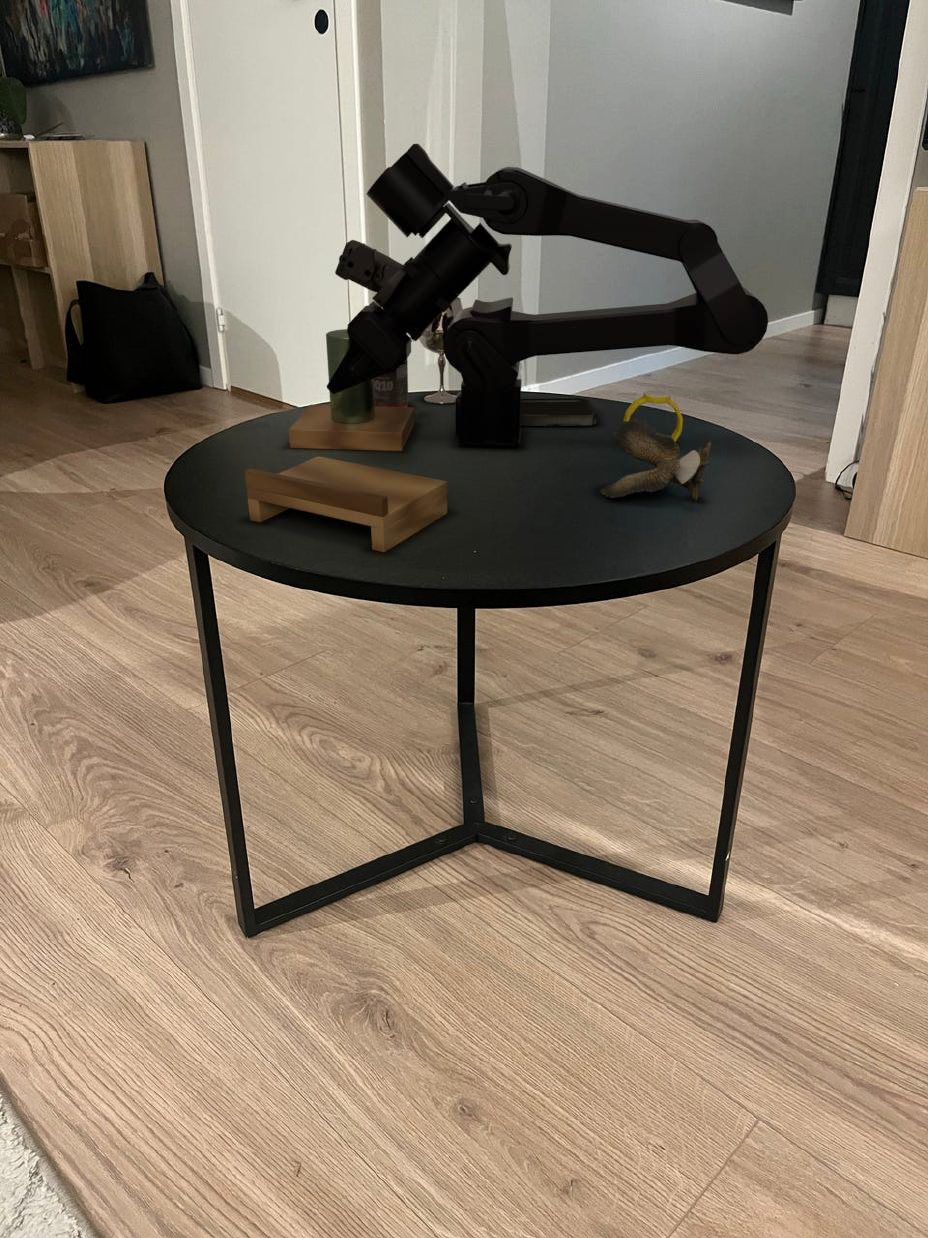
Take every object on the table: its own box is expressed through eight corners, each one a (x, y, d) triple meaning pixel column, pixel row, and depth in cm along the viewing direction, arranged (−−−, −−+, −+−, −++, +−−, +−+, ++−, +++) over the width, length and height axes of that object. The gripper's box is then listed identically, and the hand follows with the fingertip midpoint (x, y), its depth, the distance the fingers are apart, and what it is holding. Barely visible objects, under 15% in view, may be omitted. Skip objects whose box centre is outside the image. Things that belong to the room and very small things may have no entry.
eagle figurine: (700, 469, 91) (609, 446, 92) (721, 420, 85) (623, 396, 86) (687, 532, 88) (592, 508, 89) (708, 487, 81) (605, 461, 82)
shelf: (320, 486, 90) (317, 440, 88) (447, 513, 84) (447, 464, 82) (249, 520, 82) (244, 470, 80) (384, 552, 76) (382, 499, 74)
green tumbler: (380, 421, 102) (377, 336, 98) (337, 425, 101) (331, 339, 97) (368, 410, 106) (365, 327, 102) (326, 414, 105) (321, 330, 101)
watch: (623, 453, 99) (628, 396, 97) (619, 445, 102) (624, 389, 99) (680, 453, 99) (687, 396, 97) (675, 445, 102) (682, 390, 99)
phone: (464, 398, 114) (588, 397, 114) (464, 408, 115) (588, 407, 115) (465, 416, 107) (598, 415, 107) (465, 426, 108) (598, 425, 108)
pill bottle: (361, 409, 114) (358, 337, 110) (383, 400, 118) (381, 331, 114) (394, 414, 112) (392, 342, 108) (415, 405, 116) (414, 335, 112)
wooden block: (414, 424, 109) (414, 407, 108) (402, 451, 100) (401, 432, 99) (310, 421, 109) (309, 404, 109) (289, 447, 101) (288, 429, 100)
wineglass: (459, 406, 116) (459, 303, 110) (413, 403, 117) (411, 301, 111) (469, 394, 121) (469, 295, 115) (425, 392, 122) (423, 294, 116)
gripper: (395, 204, 102) (302, 308, 108) (365, 219, 86) (257, 342, 91) (468, 282, 105) (373, 380, 111) (453, 311, 89) (342, 425, 95)
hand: (338, 380), depth 102 cm, fingers open, 9 cm apart
